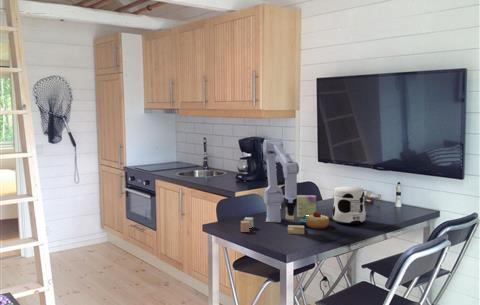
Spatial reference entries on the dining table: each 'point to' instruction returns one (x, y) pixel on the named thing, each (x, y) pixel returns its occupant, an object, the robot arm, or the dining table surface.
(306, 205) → the box
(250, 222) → the sage block
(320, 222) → the pastry
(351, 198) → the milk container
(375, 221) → the dining table surface
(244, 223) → the terracotta block
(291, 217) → the maple block
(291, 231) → the oak slab
